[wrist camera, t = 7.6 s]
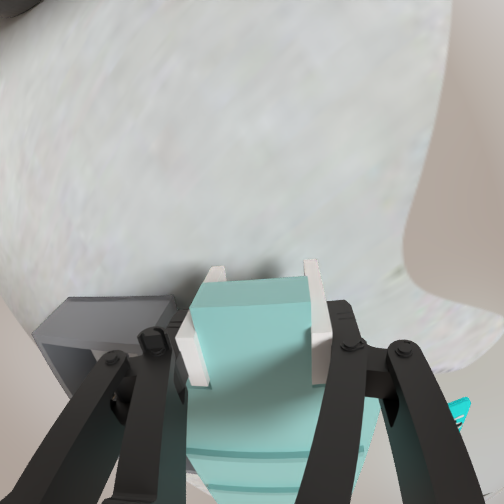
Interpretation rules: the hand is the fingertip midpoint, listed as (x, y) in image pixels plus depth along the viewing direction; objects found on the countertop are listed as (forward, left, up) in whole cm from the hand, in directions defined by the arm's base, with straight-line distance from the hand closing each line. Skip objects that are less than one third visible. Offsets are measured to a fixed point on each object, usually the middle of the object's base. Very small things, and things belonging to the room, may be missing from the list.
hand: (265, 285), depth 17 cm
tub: (+12, -13, -4) cm, 18 cm away
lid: (+9, 0, +4) cm, 10 cm away
